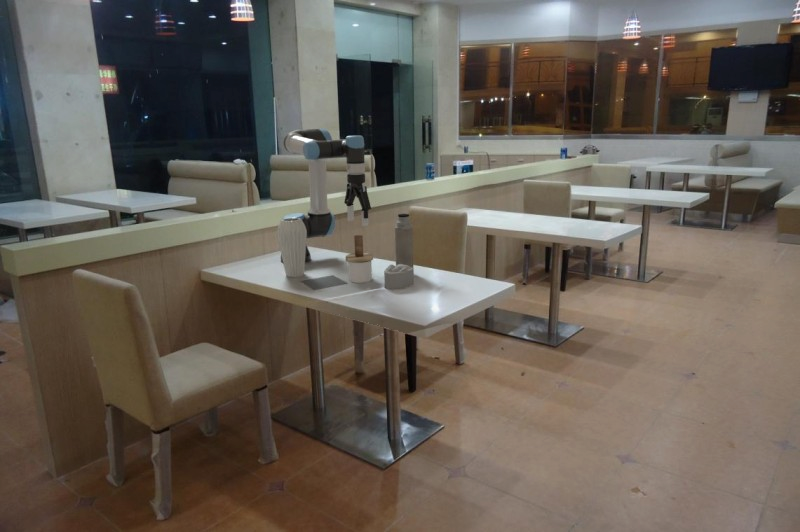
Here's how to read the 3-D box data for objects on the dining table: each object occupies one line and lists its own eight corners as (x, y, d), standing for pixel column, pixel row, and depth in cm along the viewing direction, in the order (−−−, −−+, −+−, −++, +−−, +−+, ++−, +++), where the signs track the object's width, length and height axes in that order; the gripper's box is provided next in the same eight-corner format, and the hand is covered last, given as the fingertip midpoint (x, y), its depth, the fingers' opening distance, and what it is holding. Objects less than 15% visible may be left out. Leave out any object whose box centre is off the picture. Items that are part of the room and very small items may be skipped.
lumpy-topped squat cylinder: (416, 284, 243) (416, 264, 240) (397, 291, 233) (396, 271, 231) (398, 280, 249) (398, 261, 247) (378, 287, 240) (377, 267, 237)
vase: (312, 278, 255) (308, 220, 248) (282, 281, 251) (277, 223, 244) (307, 270, 267) (303, 216, 260) (278, 273, 263) (274, 218, 256)
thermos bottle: (400, 271, 262) (399, 212, 254) (416, 273, 258) (415, 213, 251) (393, 276, 255) (391, 215, 247) (409, 278, 251) (408, 216, 244)
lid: (341, 258, 248) (339, 235, 245) (365, 254, 254) (364, 231, 251) (353, 264, 238) (352, 240, 235) (378, 260, 244) (377, 236, 241)
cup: (368, 284, 243) (368, 262, 240) (346, 284, 245) (345, 261, 242) (374, 278, 252) (373, 256, 250) (352, 277, 254) (351, 256, 252)
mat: (299, 282, 249) (299, 281, 249) (333, 276, 257) (332, 275, 257) (313, 291, 236) (313, 289, 236) (348, 284, 244) (348, 283, 243)
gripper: (335, 171, 245) (337, 219, 251) (361, 176, 224) (363, 229, 230) (350, 170, 249) (352, 217, 254) (378, 175, 228) (379, 226, 234)
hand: (357, 223), depth 242 cm, fingers open, 13 cm apart
